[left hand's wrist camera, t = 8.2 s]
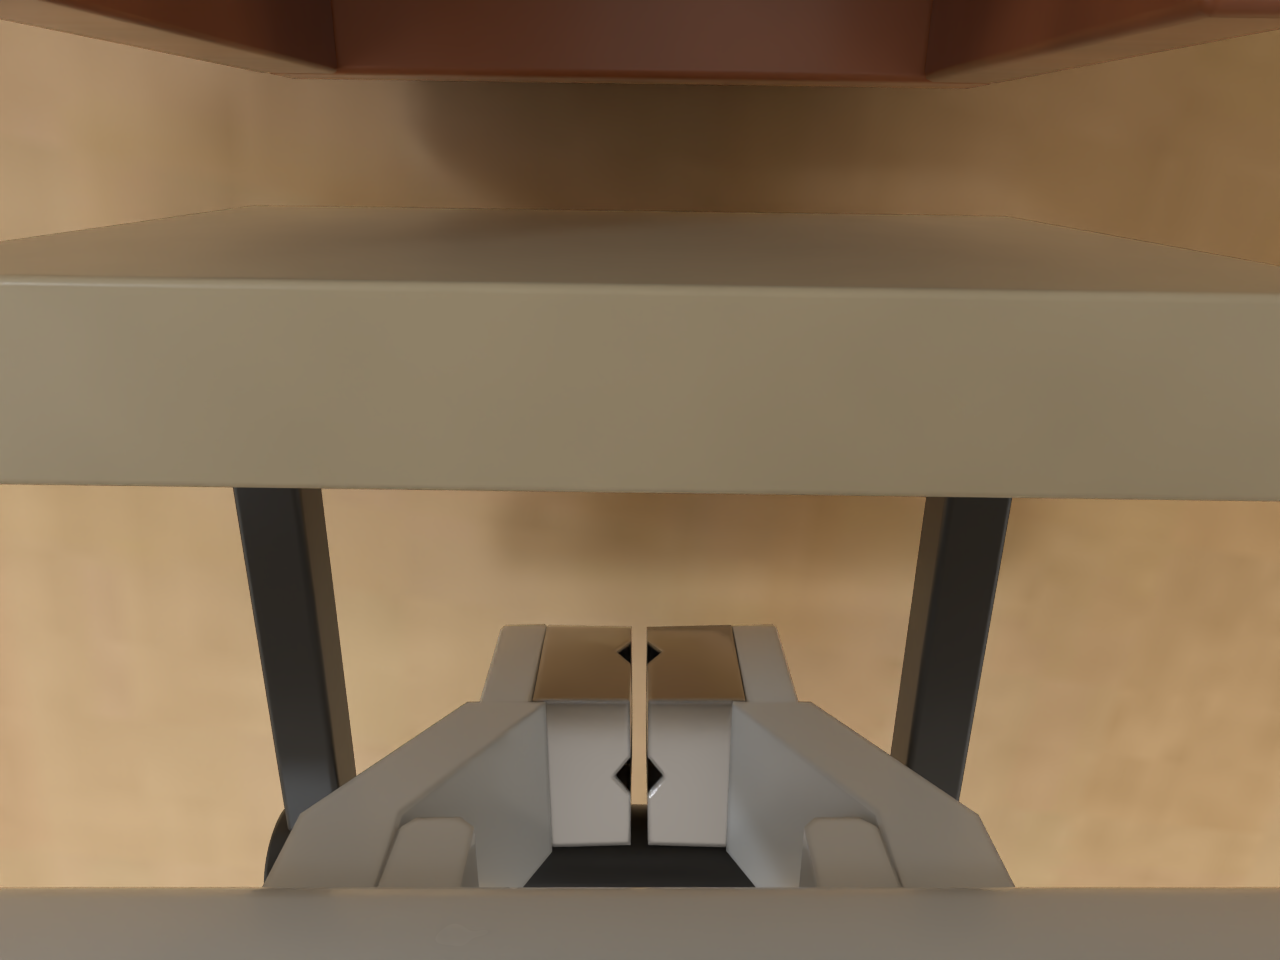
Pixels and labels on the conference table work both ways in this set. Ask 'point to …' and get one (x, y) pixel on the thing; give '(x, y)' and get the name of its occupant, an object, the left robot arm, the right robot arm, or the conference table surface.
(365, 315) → the drawer
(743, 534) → the conference table surface
